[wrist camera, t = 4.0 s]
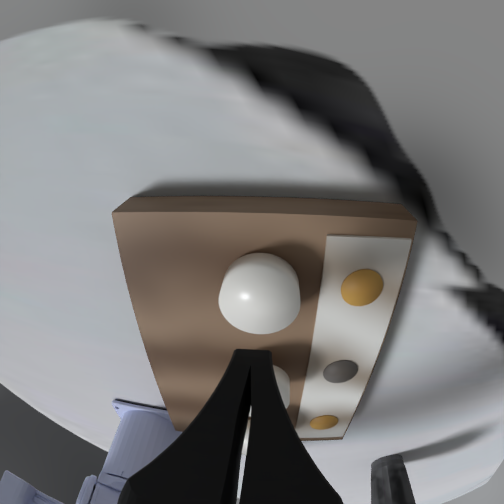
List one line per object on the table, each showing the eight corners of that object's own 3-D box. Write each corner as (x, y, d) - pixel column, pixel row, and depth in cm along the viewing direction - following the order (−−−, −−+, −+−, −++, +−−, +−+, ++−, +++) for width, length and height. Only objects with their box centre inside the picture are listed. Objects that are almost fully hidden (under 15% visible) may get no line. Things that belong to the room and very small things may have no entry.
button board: (339, 418, 27) (342, 441, 24) (180, 410, 28) (174, 433, 26) (401, 204, 16) (419, 223, 14) (130, 197, 18) (109, 214, 15)
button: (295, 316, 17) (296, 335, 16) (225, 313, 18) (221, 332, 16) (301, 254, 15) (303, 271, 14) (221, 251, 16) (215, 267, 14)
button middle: (287, 399, 20) (287, 418, 18) (229, 396, 20) (226, 415, 19) (292, 363, 18) (292, 383, 17) (226, 360, 18) (222, 380, 17)
